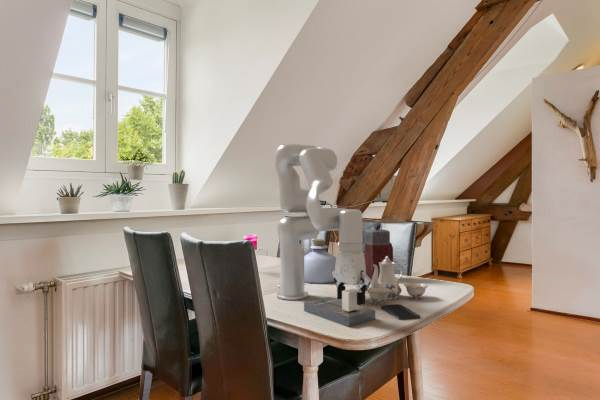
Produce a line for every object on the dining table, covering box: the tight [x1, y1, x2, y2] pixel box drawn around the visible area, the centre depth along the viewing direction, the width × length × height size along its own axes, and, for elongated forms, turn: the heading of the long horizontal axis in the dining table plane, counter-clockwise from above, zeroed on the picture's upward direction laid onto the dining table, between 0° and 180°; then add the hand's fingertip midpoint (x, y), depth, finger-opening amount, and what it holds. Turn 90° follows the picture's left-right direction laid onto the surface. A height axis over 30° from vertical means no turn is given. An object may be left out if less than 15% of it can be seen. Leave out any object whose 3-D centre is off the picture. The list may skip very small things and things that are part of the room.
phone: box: [380, 303, 421, 321], centre depth 140 cm, size 8×1×15 cm
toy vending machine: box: [364, 219, 394, 280], centre depth 194 cm, size 9×11×28 cm
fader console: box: [303, 296, 376, 328], centre depth 138 cm, size 22×12×3 cm, turn 37°
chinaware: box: [365, 256, 428, 306], centre depth 159 cm, size 28×17×17 cm, turn 120°
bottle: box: [304, 238, 336, 285], centre depth 196 cm, size 20×20×19 cm
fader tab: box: [341, 288, 361, 312], centre depth 133 cm, size 3×5×6 cm, turn 127°
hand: (350, 301), depth 133 cm, fingers open, 8 cm apart
